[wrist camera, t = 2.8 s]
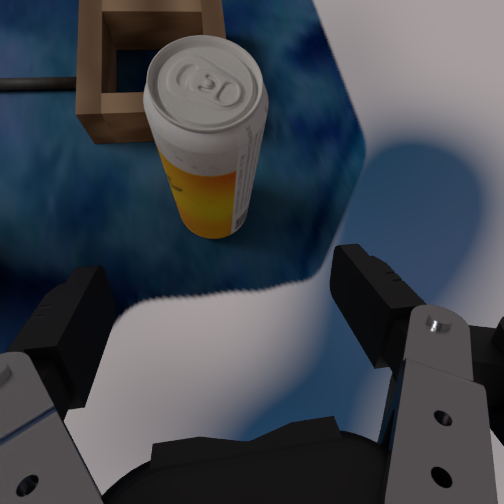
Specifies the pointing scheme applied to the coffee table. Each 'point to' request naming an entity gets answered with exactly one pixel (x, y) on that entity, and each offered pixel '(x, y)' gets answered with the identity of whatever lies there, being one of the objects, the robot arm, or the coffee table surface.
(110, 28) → the walnut collar
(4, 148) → the coffee table surface
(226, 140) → the soda can
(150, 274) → the coffee table surface
